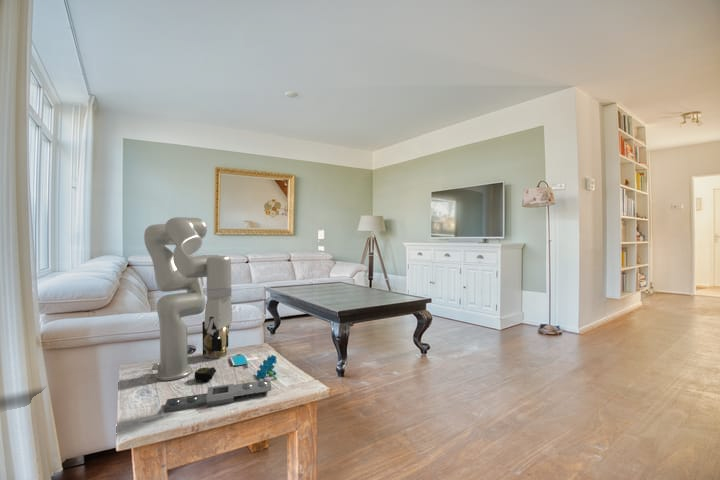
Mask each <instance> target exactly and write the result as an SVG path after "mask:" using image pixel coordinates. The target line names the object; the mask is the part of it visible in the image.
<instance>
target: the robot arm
mask: <svg viewBox="0 0 720 480" xmlns="http://www.w3.org/2000/svg"><path fill="white" fill-rule="evenodd" d="M207 232H208V229H207V224H206V222H205V221H204V220H203V219H201V218H198V217H187V216H185V217H184V216H183V217H182V216H179V217H176V216H175V217H172V218H169V220H167V221H166V222H165V223H157V224H151V225H149V226H147V227H146V229H145V231H144V235H143V236H144V237H143V238H144V245H145V248H146V250H147V253H148V254H149V256H150V258H151V261H152V266H153V271H154V276H155V281H156V286H157V289H158V290H159V291H161V292H163V293H169V292H171V294H166V295H164V296H161V297H160V298H159V299H158V300H157V302H156V311H157V313H156V314H157V316H158V322H159V353H160V354H159V355H160V356H159V357H160V359H159V362H154V363H153V365H152V367H151V370H153V371H157V373H156V374H155V378H156V379H157V380H159V381H174V380H179V379H182V378H185V377H188V376H190V375H191V374H192V372H193V367H192V366H189V363H188V360H189V359H188V357H189V355H188V354H189V353H188V327H187V324H186V323H185V322H184V321H183V320H182V319H181V318H184V317H185V318H186V317H189V316H190V317H191V316H194V315H199V314H200V315H201V314H202V313H203V312H204V321H205V329H206V330H208V331H207V334H209V335H210V336H211V339H212V351H222V339H220V338H221V329H222V328H224V327H226V347H228V348H229V334H230V326H231V325H232V323H233V307H232V299H231V298H232V261H231V260H232V259H231V257H229V256H227V255H219V254H201V255H199V254H198V255H197V254H196V255H193V254H195V253H196V252H198V250H200V249H201V247H202V245H203V239H204V238H205V237H206V235H207ZM167 246H175V248H174V250H173V251H172V250H171V249H170V248H168V247H167ZM201 278H206V298H205V293H204V289H203V288H204V287H203V285H202V284H203V283H202V279H201ZM180 291H185V292H180ZM172 292H178V293H172ZM214 327H216V329H214ZM214 331H218V333H216V332H214Z"/></svg>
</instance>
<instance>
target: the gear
mask: <svg viewBox="0 0 720 480" xmlns="http://www.w3.org/2000/svg"><path fill="white" fill-rule="evenodd" d="M262 363H263V364H260V365H259V366H258V368H259V369H257V371H256V376H255V377H256V378H257V379H259V380H262V379H266V377H267V375H268V376H269V377H270V378H273V379H274V380H277V379H278V377H277V376H276V375H277V371H276V370H274V369H275V365H274V364H277V356H276V355H274V354H272V355H271V356H268V357H266V359H264V360H263V361H262Z"/></svg>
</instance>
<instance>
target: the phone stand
mask: <svg viewBox="0 0 720 480" xmlns="http://www.w3.org/2000/svg"><path fill="white" fill-rule="evenodd" d="M258 360H260V359H259V358H258V356H254V357H247V358H246V357H245V355H244V354H241V353H238V355H237V354H236V356H235V355H234V356H231V357H229V362H230V363H231V365H232V367H234V366H236V367H243V369H249V366H248V364H249V362H252V361H258Z"/></svg>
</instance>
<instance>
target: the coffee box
mask: <svg viewBox="0 0 720 480" xmlns="http://www.w3.org/2000/svg"><path fill="white" fill-rule="evenodd" d="M201 323H202V327H201V328H202V358H204V357H209V358H208V359H216V358H219V360H221V359H222V358H224V357H225V356H223V357H215V351H212V339H211V336H210V335H209V334H207V331H208V330H206V329H205V320H204V321H202V322H201ZM228 349H229V346H228V347H226V356H228V355H229V354H228V353H229V351H228ZM227 354H228V355H227Z"/></svg>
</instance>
